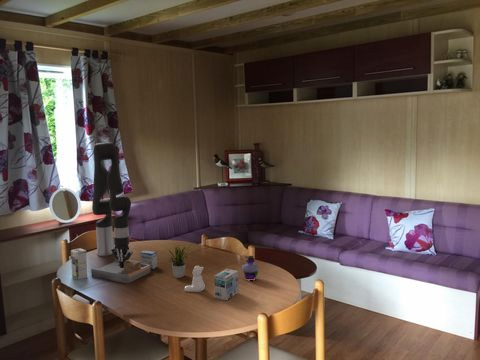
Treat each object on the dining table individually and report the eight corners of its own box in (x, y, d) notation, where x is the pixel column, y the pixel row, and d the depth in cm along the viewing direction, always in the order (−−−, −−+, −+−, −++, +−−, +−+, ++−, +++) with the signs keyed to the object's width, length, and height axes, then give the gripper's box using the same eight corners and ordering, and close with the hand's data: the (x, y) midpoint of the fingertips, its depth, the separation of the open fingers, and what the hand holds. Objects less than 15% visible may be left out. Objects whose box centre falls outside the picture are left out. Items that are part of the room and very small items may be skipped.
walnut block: (130, 268, 228) (130, 259, 228) (141, 270, 225) (140, 261, 224) (124, 271, 224) (123, 262, 223) (134, 274, 221) (134, 264, 220)
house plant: (200, 275, 224) (200, 245, 222) (179, 283, 214) (178, 251, 212) (182, 269, 234) (182, 240, 232) (162, 276, 224) (161, 245, 222)
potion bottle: (257, 283, 214) (257, 259, 212) (240, 281, 215) (240, 258, 214) (260, 276, 222) (260, 254, 221) (243, 275, 224) (243, 253, 222)
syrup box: (71, 277, 223) (70, 250, 221) (82, 274, 228) (81, 247, 226) (77, 280, 219) (75, 252, 217) (88, 277, 224) (86, 249, 222)
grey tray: (116, 265, 241) (115, 258, 241) (150, 272, 230) (150, 264, 230) (91, 276, 225) (91, 268, 225) (127, 283, 215) (127, 275, 214)
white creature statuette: (196, 284, 212) (196, 261, 211) (210, 288, 207) (210, 264, 206) (183, 291, 205) (182, 266, 203) (197, 295, 200) (196, 269, 198)
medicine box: (140, 267, 238) (139, 252, 237) (145, 265, 242) (144, 249, 241) (152, 269, 235) (152, 253, 234) (157, 266, 239) (156, 251, 238)
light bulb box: (226, 301, 193) (226, 277, 191) (214, 298, 196) (213, 275, 195) (239, 293, 202) (239, 270, 200) (227, 290, 205) (226, 268, 204)
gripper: (136, 235, 225) (137, 267, 227) (116, 232, 231) (117, 263, 233) (126, 238, 218) (127, 272, 220) (106, 235, 224) (107, 268, 226)
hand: (122, 267), depth 227 cm, fingers closed
